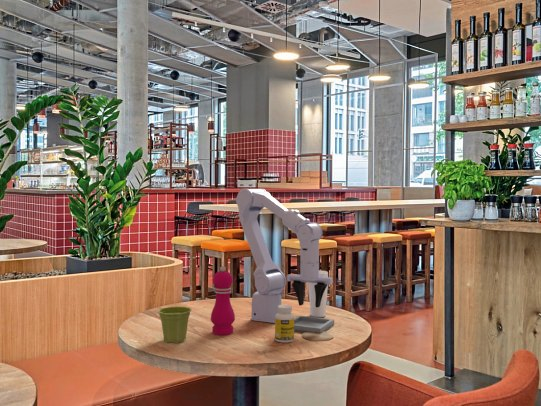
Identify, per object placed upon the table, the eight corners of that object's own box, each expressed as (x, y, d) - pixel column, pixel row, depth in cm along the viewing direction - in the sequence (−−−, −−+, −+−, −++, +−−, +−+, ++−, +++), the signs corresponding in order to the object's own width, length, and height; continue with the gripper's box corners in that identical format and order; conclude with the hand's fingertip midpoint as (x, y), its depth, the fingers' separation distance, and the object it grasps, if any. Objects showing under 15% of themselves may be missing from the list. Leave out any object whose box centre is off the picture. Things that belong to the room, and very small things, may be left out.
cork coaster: (297, 338, 152) (297, 336, 152) (309, 330, 160) (309, 329, 160) (326, 342, 148) (327, 341, 148) (337, 334, 156) (337, 333, 156)
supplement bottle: (279, 344, 147) (279, 309, 147) (271, 338, 152) (272, 305, 152) (297, 341, 149) (297, 307, 149) (288, 336, 154) (289, 303, 154)
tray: (283, 329, 162) (283, 323, 162) (299, 320, 172) (299, 315, 172) (320, 334, 156) (320, 328, 156) (334, 325, 167) (334, 319, 167)
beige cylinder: (327, 318, 175) (327, 273, 175) (306, 317, 176) (306, 273, 176) (328, 314, 182) (329, 270, 181) (309, 313, 183) (309, 269, 183)
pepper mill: (224, 327, 164) (224, 263, 163) (239, 332, 158) (239, 266, 158) (205, 332, 158) (205, 265, 158) (221, 337, 153) (221, 268, 153)
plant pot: (152, 339, 151) (152, 309, 151) (182, 333, 157) (182, 304, 157) (166, 347, 144) (166, 315, 144) (197, 341, 149) (197, 310, 149)
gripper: (282, 262, 163) (282, 306, 164) (327, 265, 157) (326, 310, 157) (292, 259, 170) (292, 301, 170) (335, 262, 163) (334, 306, 164)
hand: (309, 305), depth 164 cm, fingers open, 5 cm apart
